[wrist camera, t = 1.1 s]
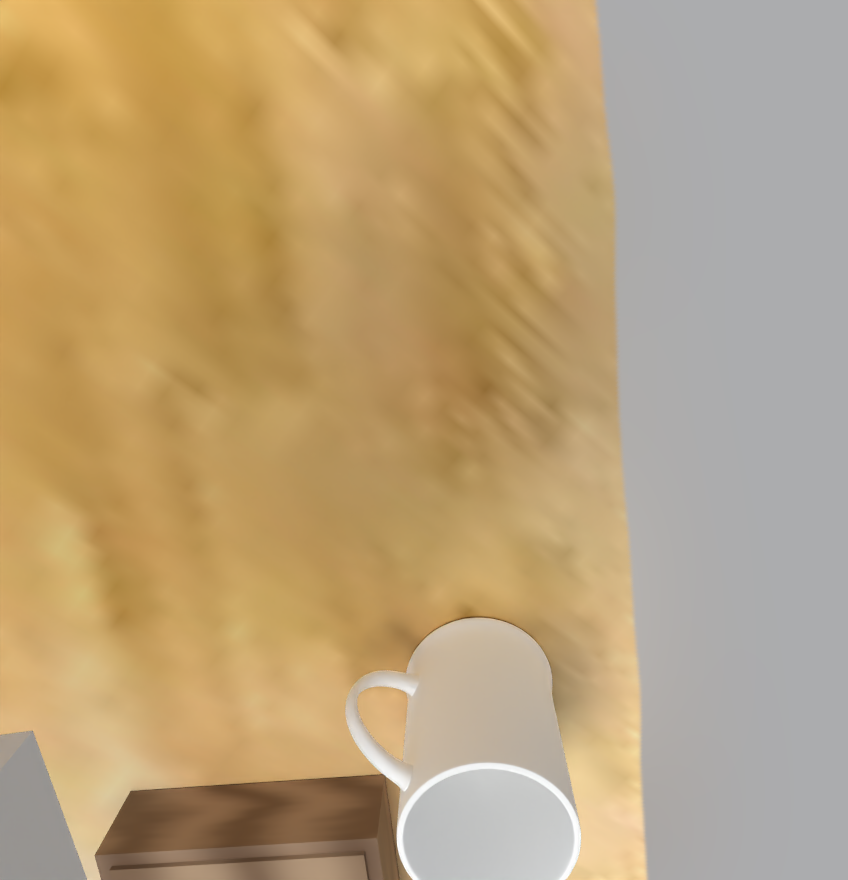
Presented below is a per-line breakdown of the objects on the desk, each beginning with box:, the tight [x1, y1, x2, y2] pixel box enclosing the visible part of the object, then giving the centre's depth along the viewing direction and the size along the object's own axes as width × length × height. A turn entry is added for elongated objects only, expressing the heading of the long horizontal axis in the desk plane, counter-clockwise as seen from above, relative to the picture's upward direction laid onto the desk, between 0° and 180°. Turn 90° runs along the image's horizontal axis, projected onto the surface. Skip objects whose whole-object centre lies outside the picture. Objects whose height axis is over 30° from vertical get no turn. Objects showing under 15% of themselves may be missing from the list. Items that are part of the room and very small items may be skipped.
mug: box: [345, 618, 581, 880], centre depth 39 cm, size 12×8×12 cm
